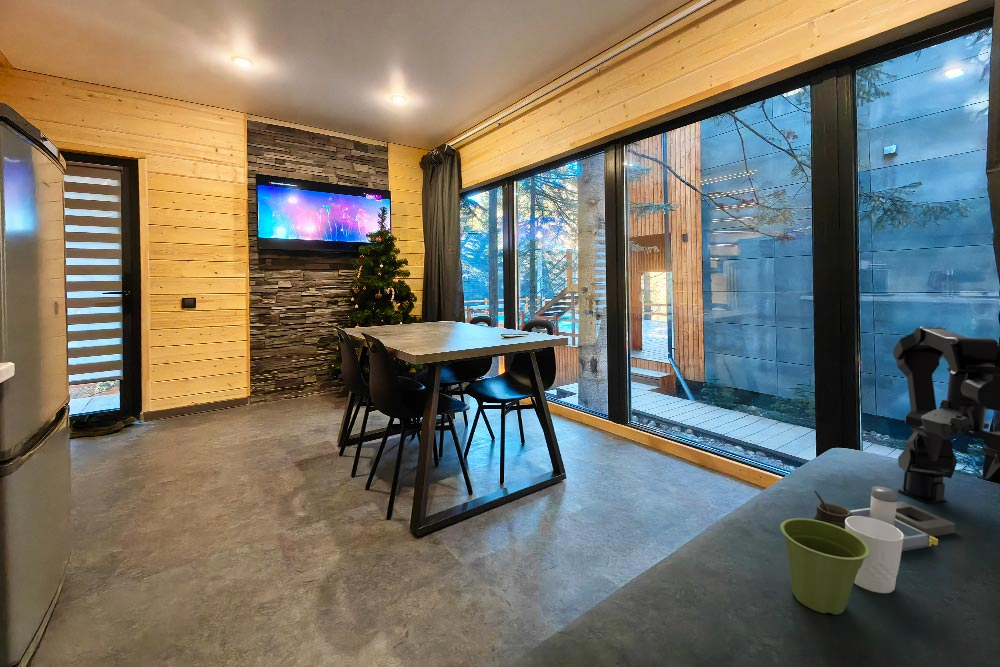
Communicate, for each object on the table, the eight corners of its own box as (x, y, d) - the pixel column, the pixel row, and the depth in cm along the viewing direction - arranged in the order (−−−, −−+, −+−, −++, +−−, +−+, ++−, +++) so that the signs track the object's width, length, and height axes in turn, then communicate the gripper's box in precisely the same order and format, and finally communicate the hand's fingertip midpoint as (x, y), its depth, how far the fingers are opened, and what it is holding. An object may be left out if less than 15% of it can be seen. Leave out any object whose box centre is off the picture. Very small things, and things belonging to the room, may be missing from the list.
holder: (874, 513, 101) (875, 505, 100) (902, 509, 102) (903, 501, 102) (924, 537, 91) (925, 528, 91) (954, 532, 92) (955, 523, 92)
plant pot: (871, 639, 65) (877, 568, 64) (776, 608, 72) (781, 543, 70) (857, 591, 75) (863, 529, 74) (776, 568, 82) (780, 511, 80)
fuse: (863, 527, 94) (866, 487, 93) (878, 525, 94) (882, 485, 94) (883, 538, 90) (887, 496, 89) (898, 535, 91) (902, 494, 90)
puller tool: (881, 522, 97) (882, 517, 96) (889, 521, 97) (890, 516, 97) (929, 546, 88) (929, 540, 88) (937, 544, 88) (938, 539, 88)
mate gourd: (842, 562, 83) (845, 511, 82) (800, 542, 90) (802, 495, 89) (862, 550, 87) (865, 502, 86) (819, 532, 93) (822, 487, 92)
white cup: (849, 589, 76) (854, 534, 75) (834, 562, 83) (838, 512, 82) (907, 601, 73) (913, 544, 72) (887, 572, 80) (892, 520, 79)
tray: (837, 523, 97) (837, 512, 96) (870, 518, 99) (871, 507, 98) (891, 553, 86) (892, 541, 86) (928, 546, 88) (929, 535, 87)
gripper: (888, 389, 100) (882, 455, 101) (993, 413, 81) (983, 493, 83) (928, 386, 102) (921, 451, 103) (1039, 409, 83) (1028, 487, 85)
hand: (958, 468), depth 94 cm, fingers open, 9 cm apart
